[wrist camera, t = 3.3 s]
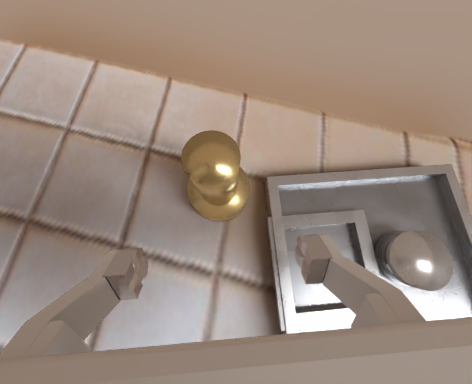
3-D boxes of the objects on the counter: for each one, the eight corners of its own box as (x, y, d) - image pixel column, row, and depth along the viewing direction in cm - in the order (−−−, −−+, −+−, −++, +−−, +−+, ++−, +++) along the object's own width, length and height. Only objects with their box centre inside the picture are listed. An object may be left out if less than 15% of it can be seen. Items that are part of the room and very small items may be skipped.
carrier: (281, 372, 17) (294, 405, 14) (260, 183, 22) (265, 172, 18) (492, 348, 18) (553, 373, 15) (430, 171, 23) (466, 158, 19)
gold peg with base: (193, 224, 21) (160, 208, 11) (192, 171, 22) (161, 116, 12) (249, 219, 21) (265, 201, 11) (244, 167, 22) (254, 111, 13)
